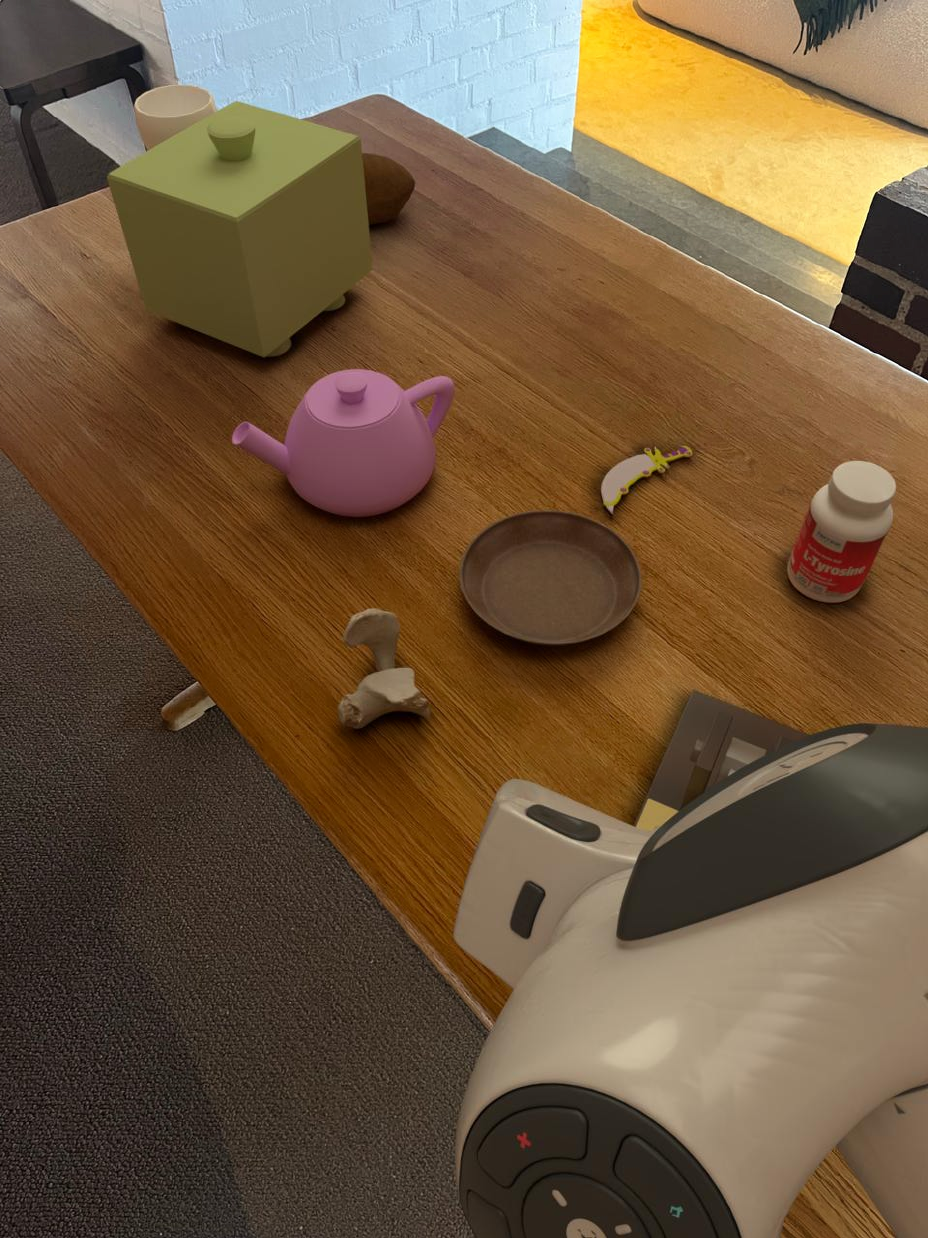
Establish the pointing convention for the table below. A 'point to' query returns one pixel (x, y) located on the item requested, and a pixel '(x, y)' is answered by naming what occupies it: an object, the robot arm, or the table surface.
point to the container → (246, 224)
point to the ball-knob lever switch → (738, 757)
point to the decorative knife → (635, 473)
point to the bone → (379, 672)
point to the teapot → (356, 442)
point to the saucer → (550, 577)
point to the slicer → (709, 747)
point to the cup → (170, 111)
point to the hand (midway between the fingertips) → (707, 863)
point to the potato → (385, 187)
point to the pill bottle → (842, 532)
